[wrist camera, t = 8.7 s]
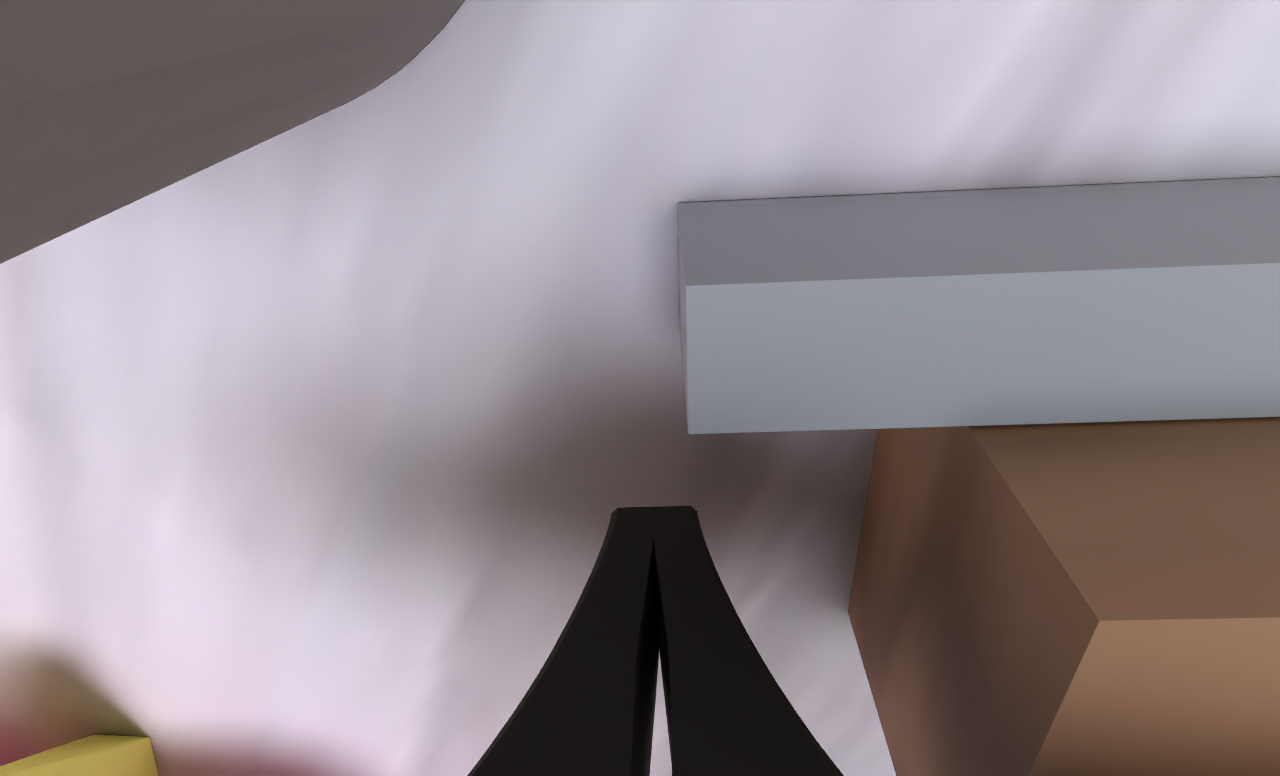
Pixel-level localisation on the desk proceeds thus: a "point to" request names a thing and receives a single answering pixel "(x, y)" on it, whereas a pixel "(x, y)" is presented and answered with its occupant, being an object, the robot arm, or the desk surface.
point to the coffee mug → (172, 91)
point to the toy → (90, 758)
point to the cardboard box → (1074, 598)
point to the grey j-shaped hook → (982, 307)
